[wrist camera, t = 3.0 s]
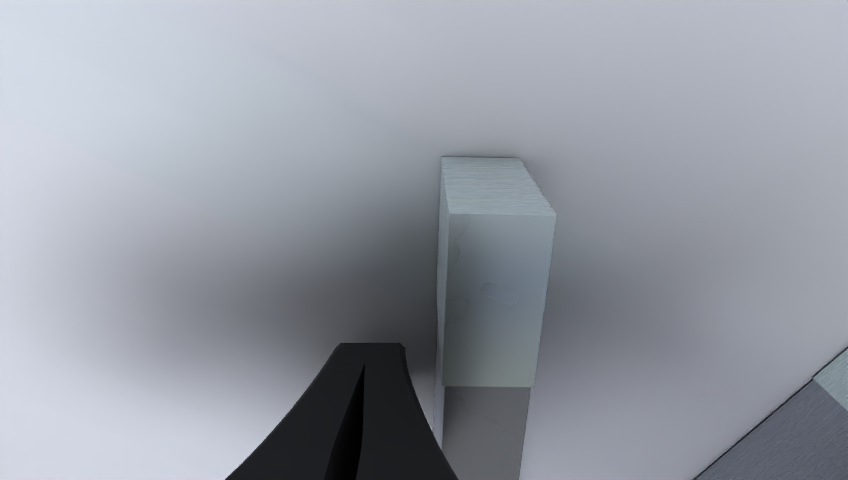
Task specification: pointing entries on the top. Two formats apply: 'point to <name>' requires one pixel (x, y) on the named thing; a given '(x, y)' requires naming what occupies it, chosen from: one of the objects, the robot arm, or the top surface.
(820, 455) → the bar
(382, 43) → the top surface
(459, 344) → the tongs moving leg
